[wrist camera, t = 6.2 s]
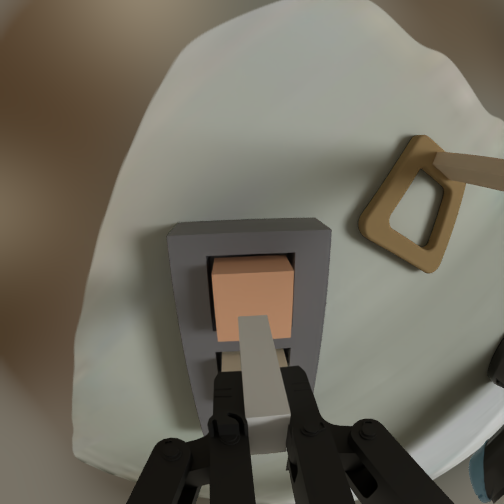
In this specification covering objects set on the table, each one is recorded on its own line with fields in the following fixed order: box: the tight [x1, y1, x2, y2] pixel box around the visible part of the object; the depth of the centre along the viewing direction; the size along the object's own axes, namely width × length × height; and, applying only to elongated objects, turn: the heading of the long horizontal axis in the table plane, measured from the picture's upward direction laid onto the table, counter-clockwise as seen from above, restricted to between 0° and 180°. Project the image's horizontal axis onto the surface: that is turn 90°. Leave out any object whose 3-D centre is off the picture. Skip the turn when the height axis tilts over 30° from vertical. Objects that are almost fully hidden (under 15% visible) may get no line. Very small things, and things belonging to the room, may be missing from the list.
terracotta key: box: [212, 255, 294, 342], centre depth 19 cm, size 5×5×3 cm
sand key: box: [222, 348, 288, 372], centre depth 22 cm, size 5×5×3 cm
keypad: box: [167, 218, 332, 436], centre depth 24 cm, size 25×11×4 cm, turn 1°
